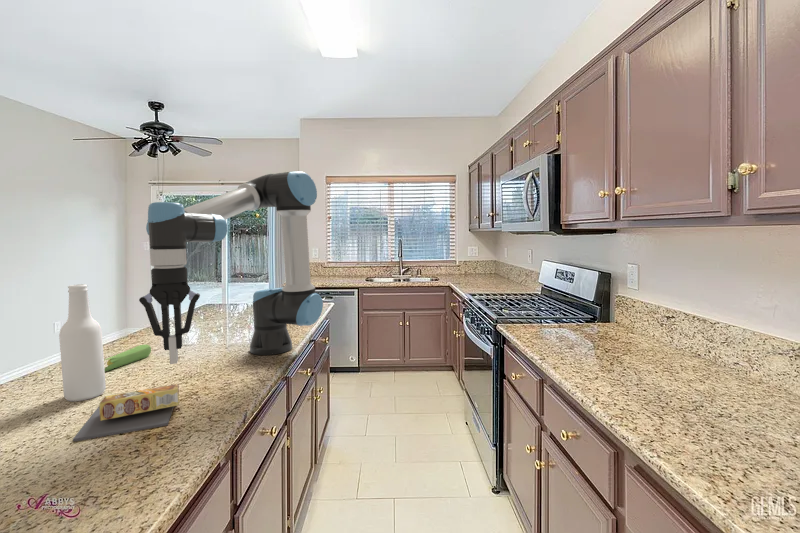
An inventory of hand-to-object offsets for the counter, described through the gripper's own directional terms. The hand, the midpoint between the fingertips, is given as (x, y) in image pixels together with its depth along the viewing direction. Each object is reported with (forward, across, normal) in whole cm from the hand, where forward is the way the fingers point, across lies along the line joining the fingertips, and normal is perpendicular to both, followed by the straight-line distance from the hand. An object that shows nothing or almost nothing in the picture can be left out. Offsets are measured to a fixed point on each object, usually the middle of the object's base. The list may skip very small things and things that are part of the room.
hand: (174, 362), depth 96 cm
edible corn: (+12, +20, -47) cm, 53 cm away
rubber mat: (+12, +9, 0) cm, 15 cm away
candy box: (+8, -1, 0) cm, 8 cm away
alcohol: (+12, +24, -19) cm, 33 cm away
